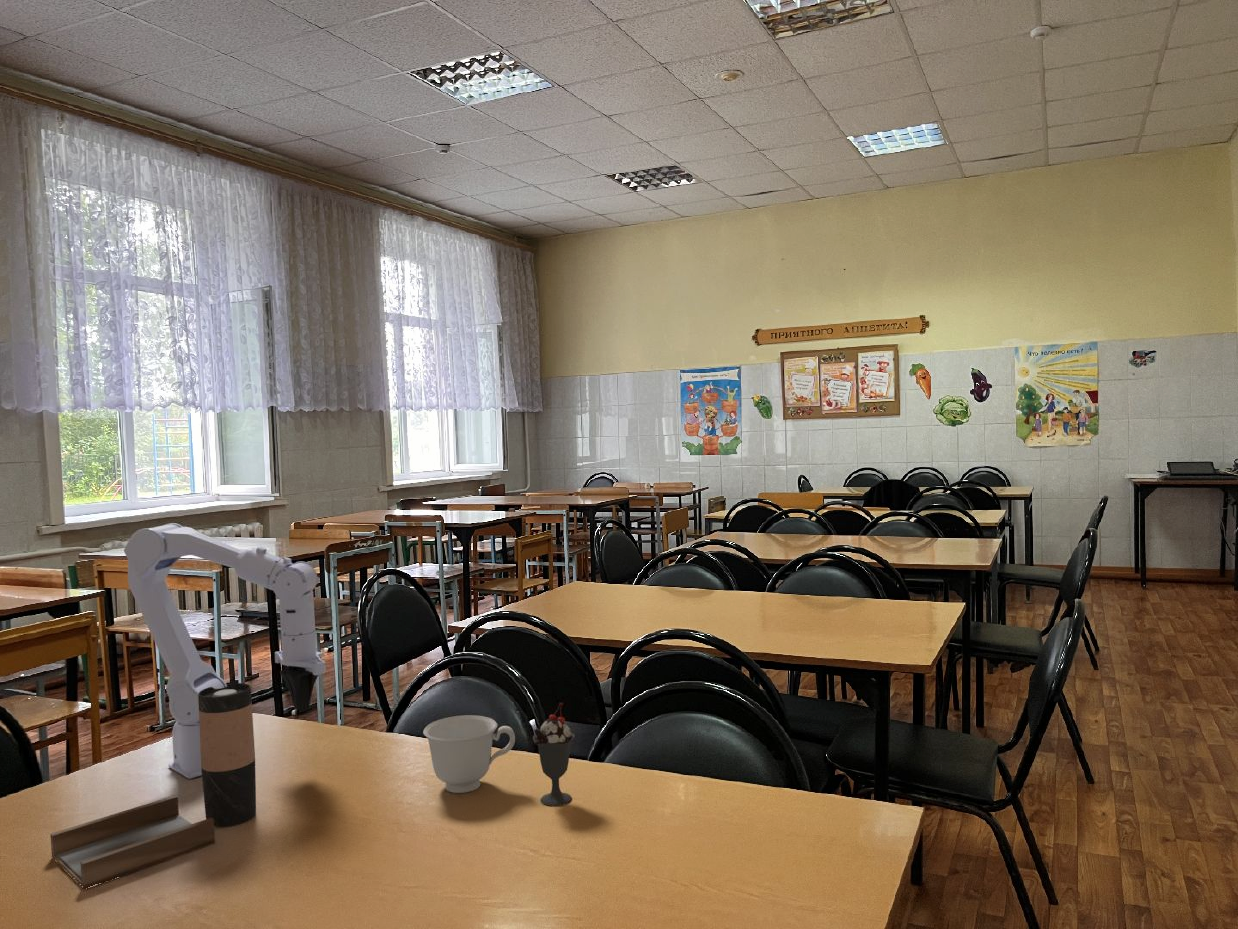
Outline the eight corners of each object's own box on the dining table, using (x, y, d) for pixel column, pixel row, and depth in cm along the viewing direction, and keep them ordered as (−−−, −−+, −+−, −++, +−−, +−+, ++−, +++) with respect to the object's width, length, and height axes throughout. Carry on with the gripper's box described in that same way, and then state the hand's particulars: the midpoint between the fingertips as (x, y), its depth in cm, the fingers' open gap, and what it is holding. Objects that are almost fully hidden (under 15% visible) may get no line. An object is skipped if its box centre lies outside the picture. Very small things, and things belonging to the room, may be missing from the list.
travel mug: (238, 830, 135) (231, 698, 134) (193, 827, 136) (186, 696, 136) (268, 808, 142) (261, 683, 141) (224, 805, 144) (218, 682, 143)
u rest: (51, 858, 128) (50, 834, 128) (176, 817, 140) (175, 795, 140) (84, 890, 118) (82, 864, 118) (215, 843, 131) (213, 819, 130)
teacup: (511, 800, 142) (509, 738, 142) (417, 802, 143) (415, 740, 142) (521, 771, 154) (519, 713, 154) (434, 773, 155) (432, 715, 154)
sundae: (579, 791, 145) (576, 699, 144) (573, 809, 138) (570, 712, 138) (539, 791, 146) (536, 699, 145) (531, 808, 139) (527, 712, 138)
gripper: (340, 633, 157) (343, 710, 158) (299, 623, 167) (302, 695, 167) (302, 641, 152) (306, 720, 152) (262, 630, 162) (266, 704, 162)
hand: (301, 708), depth 160 cm, fingers closed
